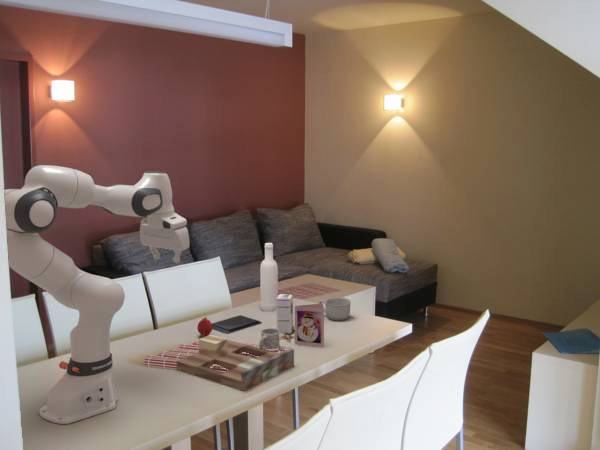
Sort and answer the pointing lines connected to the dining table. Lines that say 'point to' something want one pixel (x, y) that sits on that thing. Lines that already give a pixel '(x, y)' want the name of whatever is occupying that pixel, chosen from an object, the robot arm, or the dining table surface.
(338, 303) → the teacup
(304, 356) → the dining table surface
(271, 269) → the bottle
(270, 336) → the mug
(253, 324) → the wallet
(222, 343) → the birch block
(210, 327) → the onion
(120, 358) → the dining table surface
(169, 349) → the dining table surface
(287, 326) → the syrup box
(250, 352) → the board
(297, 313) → the greeting card
